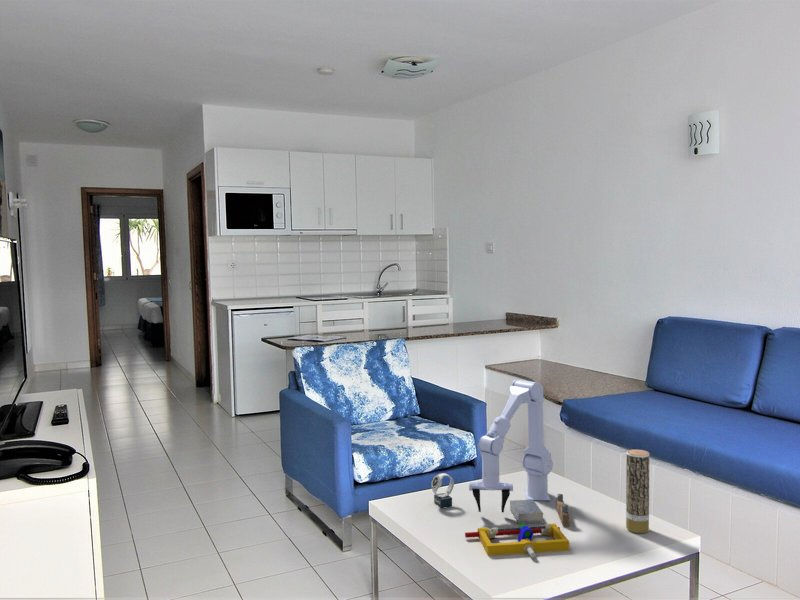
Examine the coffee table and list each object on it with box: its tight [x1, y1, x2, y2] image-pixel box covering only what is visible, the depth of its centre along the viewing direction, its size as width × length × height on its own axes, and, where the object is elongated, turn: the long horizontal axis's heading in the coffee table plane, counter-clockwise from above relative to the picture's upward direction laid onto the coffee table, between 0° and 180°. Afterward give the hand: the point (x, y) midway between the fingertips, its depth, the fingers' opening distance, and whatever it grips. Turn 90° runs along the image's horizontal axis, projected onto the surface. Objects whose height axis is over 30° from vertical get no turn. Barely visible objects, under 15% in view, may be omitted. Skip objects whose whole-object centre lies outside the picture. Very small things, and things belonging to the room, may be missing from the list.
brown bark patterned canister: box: [625, 448, 650, 534], centre depth 213 cm, size 7×7×25 cm
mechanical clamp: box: [464, 523, 570, 559], centre depth 203 cm, size 18×6×30 cm
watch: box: [430, 472, 455, 509], centre depth 238 cm, size 6×8×11 cm
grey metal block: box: [509, 499, 544, 526], centre depth 226 cm, size 12×8×4 cm, turn 4°
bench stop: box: [555, 493, 570, 528], centre depth 224 cm, size 15×2×6 cm, turn 175°
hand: (491, 511), depth 227 cm, fingers open, 7 cm apart
